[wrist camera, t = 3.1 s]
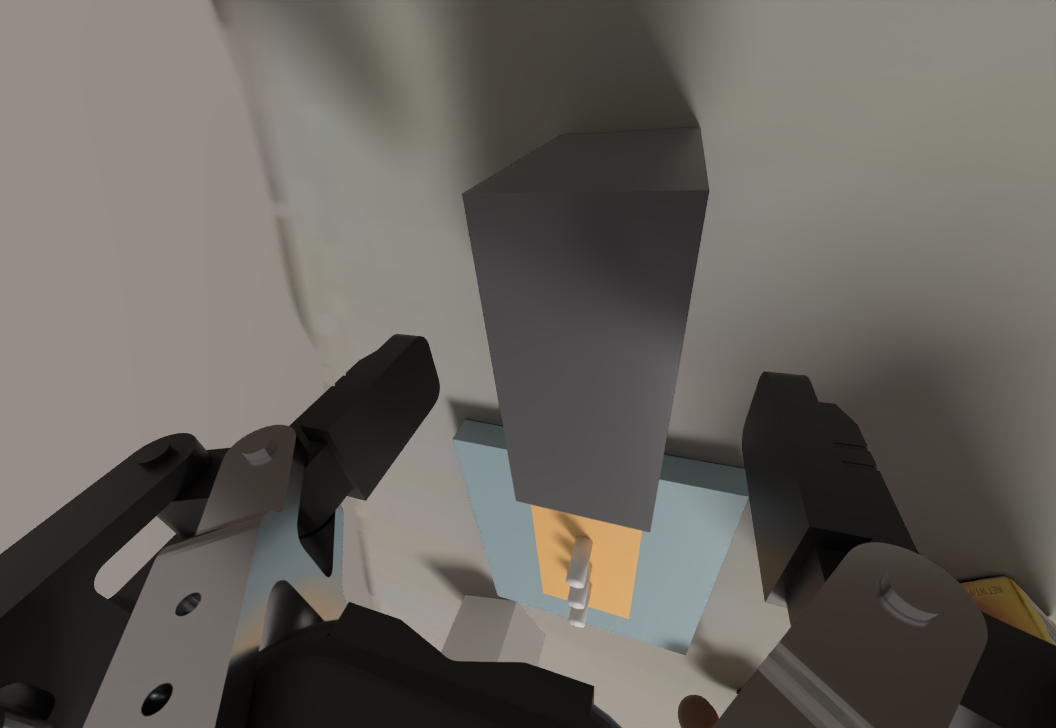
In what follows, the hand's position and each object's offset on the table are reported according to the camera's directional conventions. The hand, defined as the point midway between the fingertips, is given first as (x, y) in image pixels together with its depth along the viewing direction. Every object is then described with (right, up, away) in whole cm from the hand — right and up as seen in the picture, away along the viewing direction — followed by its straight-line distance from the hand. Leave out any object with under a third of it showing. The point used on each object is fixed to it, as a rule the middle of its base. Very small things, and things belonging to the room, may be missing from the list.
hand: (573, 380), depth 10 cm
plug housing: (+2, +4, +4) cm, 6 cm away
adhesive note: (-3, -23, +28) cm, 37 cm away
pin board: (+3, -11, +15) cm, 19 cm away
